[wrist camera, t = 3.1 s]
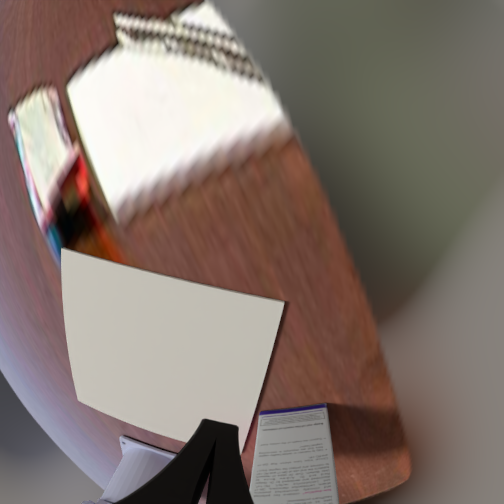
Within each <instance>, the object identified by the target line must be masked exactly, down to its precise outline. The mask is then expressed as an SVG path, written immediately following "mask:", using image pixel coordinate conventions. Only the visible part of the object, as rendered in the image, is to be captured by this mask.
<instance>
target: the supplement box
mask: <svg viewBox="0 0 504 504" xmlns="http://www.w3.org/2000/svg"><path fill="white" fill-rule="evenodd" d="M250 494H251V497H252V500H253V502H254V504H339V497H338V488H337V479H336V471H335V463H334V455H333V448H332V440H331V433H330V425H329V418H328V410H327V404H326V403H323V404H316V405H310V406H303V407H297V408H288V409H278V410H268V411H261V412H260V414H259V421H258V430H257V438H256V446H255V453H254V461H253V468H252V476H251V483H250Z"/></svg>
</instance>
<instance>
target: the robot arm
mask: <svg viewBox="0 0 504 504" xmlns="http://www.w3.org/2000/svg"><path fill="white" fill-rule="evenodd" d="M119 439H120V444H121V449H122V453H123V458H122V460H121V462H120V464H119V466H118V467H117V469H116V471H115V473H114V475H113V477H112V478H111V480H110V482H109V484H108V486H107V488H106V489H105V491H104V493H103V495H102V497H101V499H100V498H99V499H98V501H97V503H96V504H198V502H199V500H200V497H201V494H202V492H203V489H204V486H205V484H206V481H207V478H208V476H209V473H210V477H209V484H208V492H207V500H206V504H254V502H253V500H252V497H251V494H250V491H249V488H248V485H247V482H246V478H245V474H244V470H243V466H242V461H241V456H240V448H239V427H238V426H237V425H233V424H228V423H223V422H219V421H214V420H210V419H206V418H205V419H202V420H201V422H200V424H199V426H198V428H197V429H196V431H195V432H194V434H193V435H192V437H191V438H190V439H189V441H188V442H187V443H186V444H185V446H184V447H183V448H182V449H181V450H180V452H179V453H178V454H174V453H170V452H167V451H164V450H161V449H158V448H155V447H152V446H149V445H146V444H143V443H141V442H138V441H135V440H133V439H130V438H128V437H125V436H120V438H119ZM81 504H95V503H94V502H92V501H90V500H89V501H84V502H82V503H81Z"/></svg>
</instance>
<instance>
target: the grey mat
mask: <svg viewBox="0 0 504 504" xmlns="http://www.w3.org/2000/svg"><path fill="white" fill-rule="evenodd" d="M61 272H62V296H63V310H64V321H65V330H66V338H67V345H68V352H69V358H70V364H71V369H72V375H73V380H74V385H75V389H76V394H77V398H78V401H80V402H82V403H84V404H86V405H88V406H90V407H92V408H94V409H97V410H99V411H101V412H103V413H105V414H108V415H110V416H112V417H115V418H117V419H120V420H122V421H125V422H127V423H130V424H132V425H135V426H138V427H140V428H143V429H146V430H149V431H151V432H154V433H157V434H160V435H164V436H167V437H170V438H173V439H177V440H180V441H184V442H188V441H189V439H190V438H191V437H192V435H193V434H194V432H195V431H196V429H197V428H198V426H199V424H200V422H201V420H202V419H205V418H206V419H210V420H214V421H219V422H223V423H228V424H233V425H237V426H238V427H239V448H240V455H241V453H242V450H243V447H244V444H245V440H246V437H247V434H248V431H249V428H250V425H251V421H252V418H253V415H254V411H255V408H256V405H257V401H258V398H259V395H260V391H261V388H262V384H263V381H264V377H265V374H266V370H267V367H268V363H269V360H270V356H271V352H272V349H273V345H274V341H275V338H276V334H277V330H278V326H279V322H280V318H281V315H282V311H283V307H284V301H282V300H276V299H271V298H267V297H262V296H257V295H252V294H247V293H243V292H238V291H233V290H229V289H224V288H220V287H215V286H211V285H206V284H202V283H198V282H193V281H189V280H185V279H180V278H176V277H172V276H168V275H164V274H160V273H156V272H152V271H148V270H144V269H140V268H136V267H132V266H128V265H125V264H121V263H117V262H113V261H110V260H106V259H102V258H99V257H95V256H91V255H88V254H84V253H81V252H77V251H74V250H70V249H67V248H61Z"/></svg>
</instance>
